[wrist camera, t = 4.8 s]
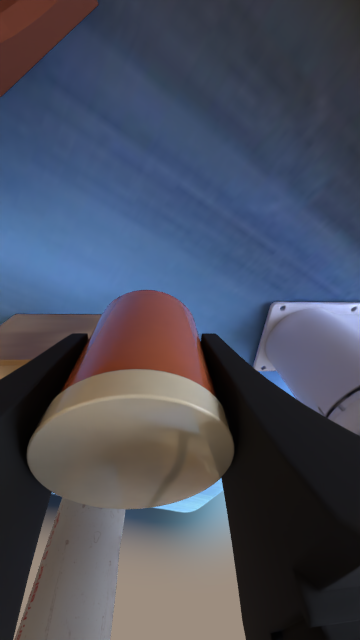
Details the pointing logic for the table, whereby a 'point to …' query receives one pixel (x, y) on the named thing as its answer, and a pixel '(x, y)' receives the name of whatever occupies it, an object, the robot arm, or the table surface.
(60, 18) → the hanging shelf
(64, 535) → the thermos bottle
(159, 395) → the spice jar
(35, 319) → the spice rack
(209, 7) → the table surface
